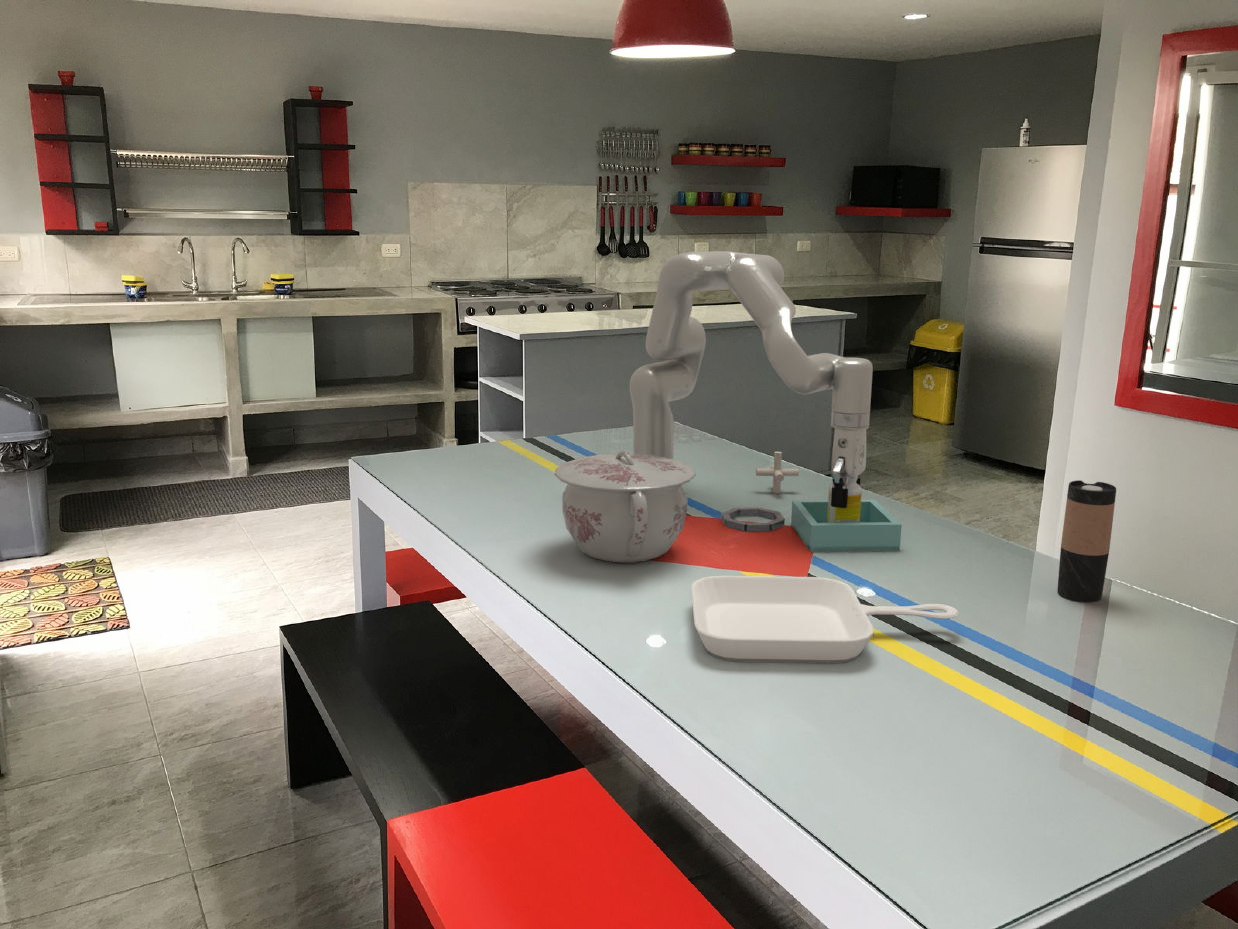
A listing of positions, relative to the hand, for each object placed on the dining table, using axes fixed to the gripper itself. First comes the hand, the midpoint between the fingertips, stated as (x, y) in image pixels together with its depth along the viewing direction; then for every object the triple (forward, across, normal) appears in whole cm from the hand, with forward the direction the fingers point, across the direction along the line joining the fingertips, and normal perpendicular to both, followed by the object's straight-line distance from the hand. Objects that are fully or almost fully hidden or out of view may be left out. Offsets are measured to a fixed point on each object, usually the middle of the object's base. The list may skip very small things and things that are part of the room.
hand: (845, 501), depth 205 cm
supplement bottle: (+7, 0, 0) cm, 7 cm away
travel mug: (+8, -13, -46) cm, 48 cm away
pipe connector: (+8, +27, +24) cm, 37 cm away
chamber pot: (+8, -30, +36) cm, 47 cm away
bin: (+8, 0, 0) cm, 8 cm away
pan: (+8, -50, -10) cm, 51 cm away
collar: (+8, +1, +20) cm, 22 cm away
